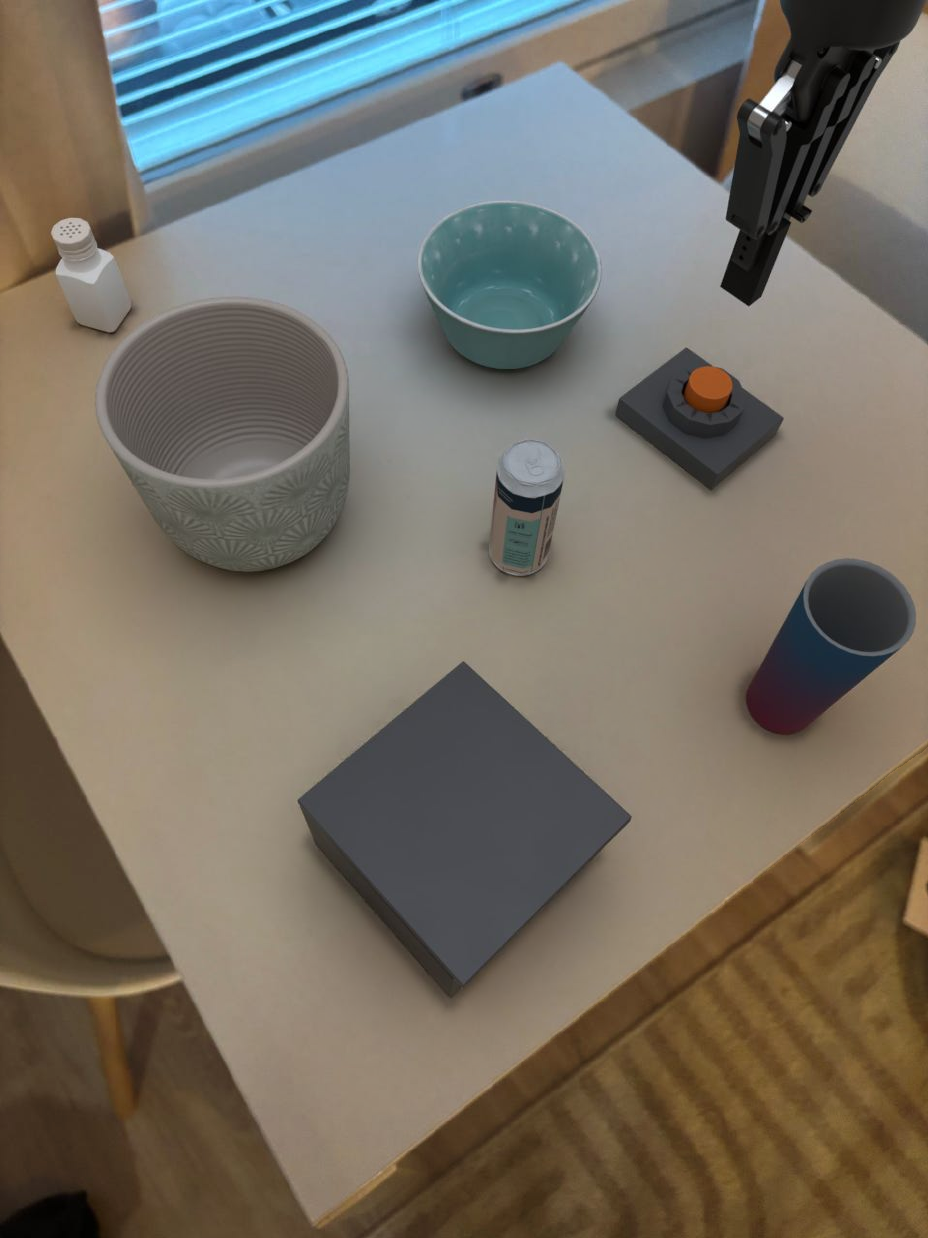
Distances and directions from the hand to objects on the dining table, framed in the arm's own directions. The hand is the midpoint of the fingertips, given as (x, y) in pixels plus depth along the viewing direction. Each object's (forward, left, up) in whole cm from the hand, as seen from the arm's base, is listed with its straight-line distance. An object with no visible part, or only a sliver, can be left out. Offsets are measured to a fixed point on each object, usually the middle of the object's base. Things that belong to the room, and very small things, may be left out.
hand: (740, 291), depth 69 cm
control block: (0, -1, -15) cm, 15 cm away
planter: (+18, +33, -16) cm, 41 cm away
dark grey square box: (-13, +40, -15) cm, 45 cm away
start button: (0, -1, -12) cm, 12 cm away
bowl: (+19, +4, -16) cm, 25 cm away
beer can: (+1, +20, -16) cm, 26 cm away
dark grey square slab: (-13, +40, -6) cm, 43 cm away
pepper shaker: (+45, +30, -16) cm, 57 cm away
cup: (-22, +15, -16) cm, 31 cm away
